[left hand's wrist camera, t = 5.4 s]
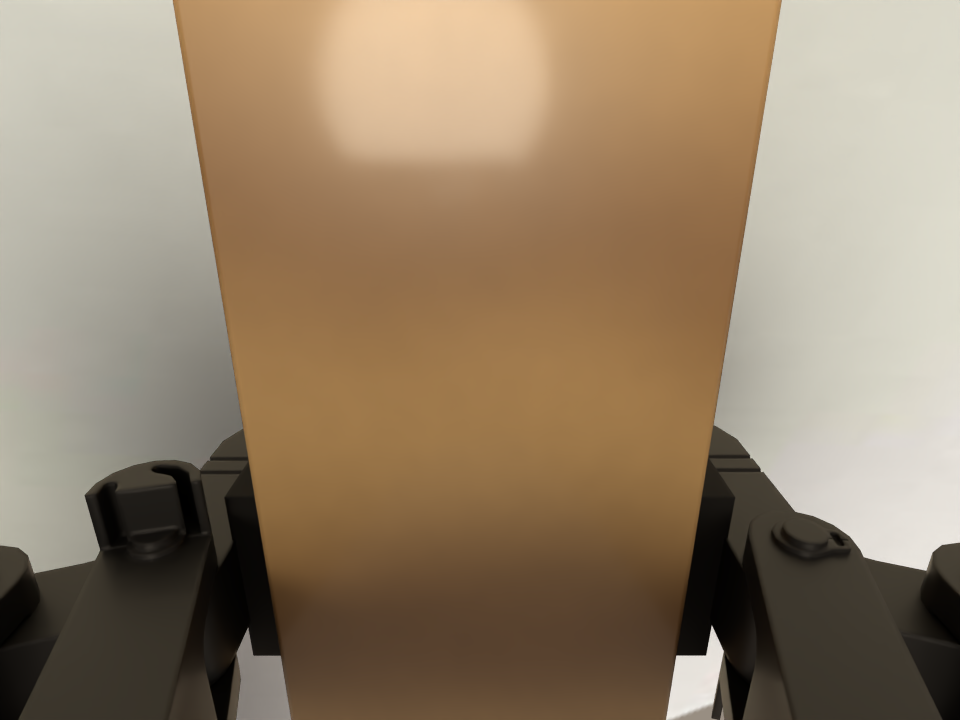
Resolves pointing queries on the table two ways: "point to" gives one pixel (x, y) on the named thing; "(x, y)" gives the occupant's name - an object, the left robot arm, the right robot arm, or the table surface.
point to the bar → (477, 331)
